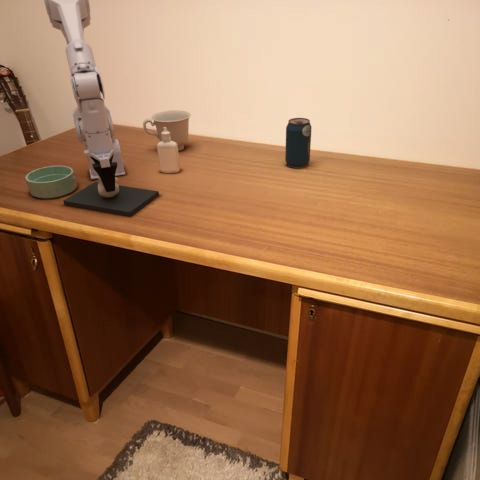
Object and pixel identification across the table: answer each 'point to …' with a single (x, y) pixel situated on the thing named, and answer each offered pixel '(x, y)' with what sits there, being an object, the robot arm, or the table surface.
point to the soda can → (298, 142)
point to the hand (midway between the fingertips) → (109, 186)
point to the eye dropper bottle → (168, 154)
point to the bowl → (51, 181)
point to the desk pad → (112, 200)
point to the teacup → (171, 125)
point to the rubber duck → (103, 191)
